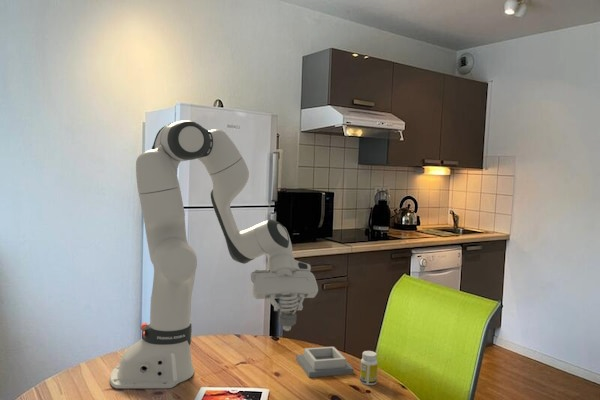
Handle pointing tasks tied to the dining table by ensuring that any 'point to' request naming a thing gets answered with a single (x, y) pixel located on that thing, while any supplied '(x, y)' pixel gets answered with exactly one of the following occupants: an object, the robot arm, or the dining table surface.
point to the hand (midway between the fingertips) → (288, 309)
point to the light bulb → (285, 316)
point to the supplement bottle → (368, 368)
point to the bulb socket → (323, 362)
